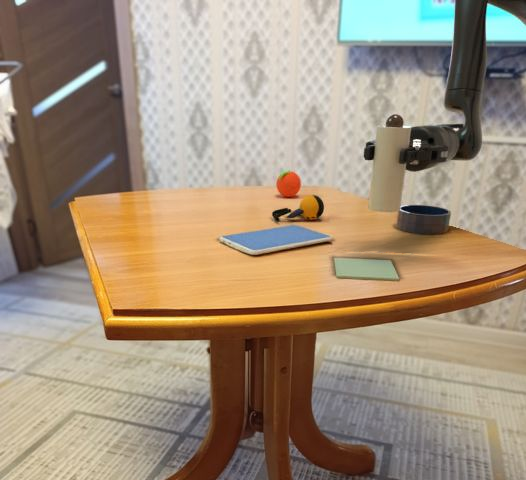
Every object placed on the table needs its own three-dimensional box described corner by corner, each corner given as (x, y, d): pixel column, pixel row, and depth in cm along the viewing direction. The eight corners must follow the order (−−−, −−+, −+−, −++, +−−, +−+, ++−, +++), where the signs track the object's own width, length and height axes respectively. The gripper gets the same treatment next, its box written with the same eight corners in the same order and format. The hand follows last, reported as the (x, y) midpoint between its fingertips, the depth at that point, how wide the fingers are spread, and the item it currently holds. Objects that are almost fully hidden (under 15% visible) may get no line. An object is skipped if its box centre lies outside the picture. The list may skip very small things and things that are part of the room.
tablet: (253, 257, 91) (253, 250, 90) (217, 241, 100) (217, 235, 99) (333, 243, 101) (334, 236, 100) (294, 229, 110) (295, 223, 109)
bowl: (440, 225, 116) (444, 205, 114) (452, 238, 106) (456, 216, 104) (392, 223, 117) (394, 203, 115) (399, 235, 107) (402, 214, 105)
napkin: (390, 262, 90) (390, 260, 90) (399, 281, 81) (399, 278, 81) (333, 259, 91) (334, 257, 91) (336, 278, 82) (336, 275, 82)
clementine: (288, 200, 139) (289, 173, 136) (268, 197, 143) (269, 170, 140) (305, 196, 145) (306, 170, 141) (285, 193, 149) (286, 168, 145)
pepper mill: (397, 206, 89) (410, 113, 83) (402, 213, 85) (416, 115, 78) (366, 205, 90) (376, 112, 83) (369, 211, 85) (380, 114, 78)
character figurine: (284, 233, 114) (331, 213, 116) (275, 209, 113) (322, 189, 115) (272, 235, 124) (315, 217, 126) (263, 213, 122) (307, 195, 124)
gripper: (390, 123, 95) (346, 126, 83) (467, 127, 88) (431, 132, 76) (385, 165, 99) (342, 174, 87) (459, 173, 91) (423, 184, 79)
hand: (384, 155), depth 81 cm, fingers closed on pepper mill, 5 cm apart
